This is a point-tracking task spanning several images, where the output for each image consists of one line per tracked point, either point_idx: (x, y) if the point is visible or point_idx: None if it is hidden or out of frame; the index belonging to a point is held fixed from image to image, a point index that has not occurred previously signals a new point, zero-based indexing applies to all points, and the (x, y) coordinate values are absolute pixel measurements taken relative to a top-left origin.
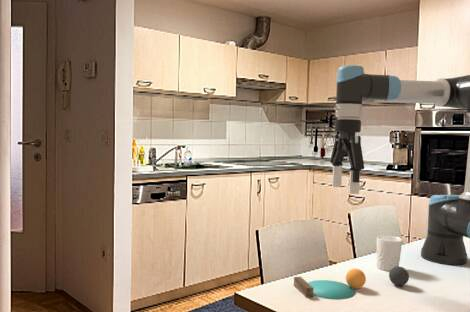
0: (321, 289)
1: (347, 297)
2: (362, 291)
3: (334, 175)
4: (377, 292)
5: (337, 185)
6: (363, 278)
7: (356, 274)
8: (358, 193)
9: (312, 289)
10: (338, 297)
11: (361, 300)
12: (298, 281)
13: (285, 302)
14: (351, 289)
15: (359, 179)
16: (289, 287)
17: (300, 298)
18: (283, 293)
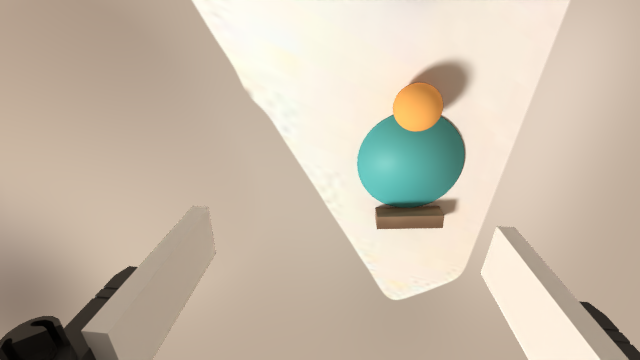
0: (410, 179)
1: (463, 146)
2: None
3: (179, 307)
4: (452, 60)
5: (208, 235)
6: (441, 98)
7: (437, 118)
8: (514, 231)
9: (443, 215)
10: (459, 164)
11: (483, 122)
12: (400, 227)
13: (448, 253)
14: None
15: (579, 305)
16: None
17: None
18: (409, 245)
